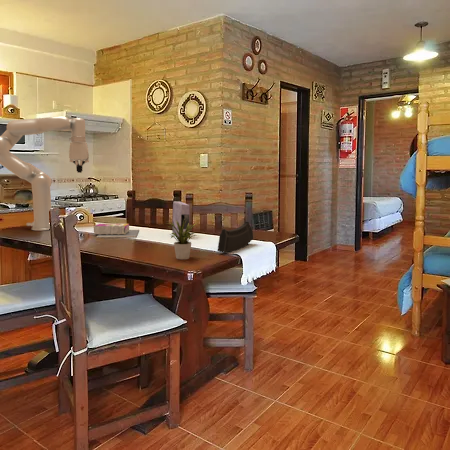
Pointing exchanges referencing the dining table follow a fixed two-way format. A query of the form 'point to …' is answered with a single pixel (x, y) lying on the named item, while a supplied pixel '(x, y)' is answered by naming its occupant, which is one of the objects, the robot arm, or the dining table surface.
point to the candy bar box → (111, 229)
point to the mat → (129, 235)
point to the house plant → (182, 241)
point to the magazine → (235, 238)
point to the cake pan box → (180, 215)
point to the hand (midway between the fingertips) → (79, 172)
